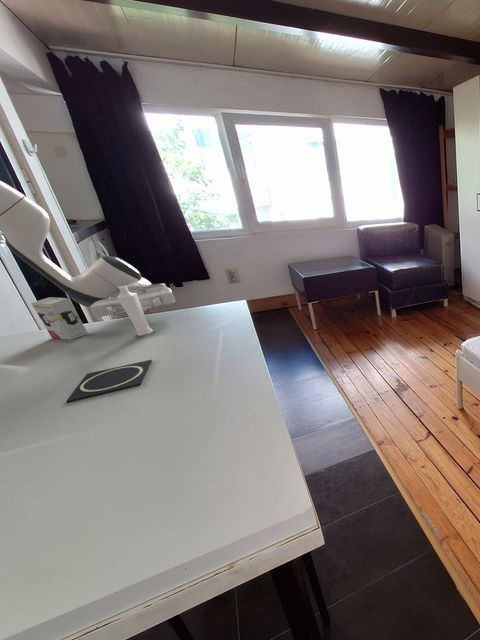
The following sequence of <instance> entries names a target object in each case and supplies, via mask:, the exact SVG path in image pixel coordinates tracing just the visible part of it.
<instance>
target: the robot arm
mask: <svg viewBox="0 0 480 640" xmlns="http://www.w3.org/2000/svg"><path fill="white" fill-rule="evenodd" d="M50 227H51V219H50V217H49V214H48V213H47V211H46V210H45V209H44V208H43V207H42V206H41V205H39V204H38V203H37V202H35V201H34V200H33V199H32V198H29V197H28V196H27V195H25V194H23V193H22V192H20V191H19V190H18V189H15V188H14V187H12V186H11V185H9V184H8V183H6V182H4V181H2V180H0V232H1V234H3V235H4V237H5V239H6V240H5V246H6V247H7V248H8V249H9V250H10V251H11V252H12V253H13V254H15V256H17V257H18V258H19V259H20V260H22V261H23V262H24V263H26V264H27V265H28V266H29V267H31V268H32V269H34V271H36V272H37V273H39V274H40V275H41V276H43V277H44V278H45V279H47V280H48V281H50V282H51V283H53V284H54V286H56V287H58V288H59V289H60V290H62V291H63V292H64V294H65V295H67V296H68V297H70V298H71V299H72V300H73V301H74V302H76V303H77V304H79V305H81V306H83V307H86V308H87V307H88V308H90V310H91V312H92V314H93V315H94V316H95V317H96V318H100V317H101V318H102V317H106V316H117V315H119V314H123V313H126V311H125V309H124V308H123V306H122V304H121V303H120V301H119V299H118V298H117V296H119V295H120V294H121V292H120V290H119V288H118V287H120V286H127V288H128V290H129V292H132V293H137V296H138V298H139V301H140V304H141V306H142V309H143V312H146V311H148V310H149V309H154V308H157V307H158V306H164V305H170V304H174V303H176V298H175V296H174V294H173V291H172V289H171V288H170V287H168V286H167V285H166V283H151V282H150V281H149V280H148V279H147V278H145V277H142V274H141V272H140V271H139V270H138V268H136V267H135V266H133V265H132V264H131V263H130V262H128V261H127V260H124V259H123V258H120V257H117V256H111V255H103V256H101V257H99V258H98V259H97V260H95V261H94V262H93V263H92V264H90V266H88V267H87V268H86V269H85V270H83V271H82V272H81V273H80V274H78V275H76V276H71V275H70V274H68V273H67V272H65V271H64V270H63V269H62V268H61V267H59V266H58V265H57V264H56V263H54V262H53V261H52V260H51V259H49V258H48V257H47V256H46V255H45V253H44V252H43V251H44V250H43V247H44V245H45V244H44V243H45V241H46V239H47V236H48V234H49V232H50V229H51V228H50ZM117 292H118V295H117V296H115V297H112V296H113V295H115V294H116V293H117Z"/></svg>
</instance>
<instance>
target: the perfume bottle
mask: <svg viewBox="0 0 480 640" xmlns="http://www.w3.org/2000/svg"><path fill="white" fill-rule="evenodd" d="M118 288H119V290H118V291H119V292H121V294H120V295H119V296H118V295H117V296H116V297H117V298H118V299H119V301H120V303H121V304H122V306H123V308H124V309H125V311H126V312H125V313H126V315H127V316H128V318H129V319H130V321H131V323H132V325H133V326H134V328H135V329H136V334H137V336H138V337H139V336H146V335H149V334H151V333H153V331H154V330H153V329H152V328H151V327H150V326H149V322H148V320H147V317H146V314H145V311H143V309H142V306H141V304H140V301H139V298H138V296H137V293H132V292H129V290H128V288H127V286H120V287H118Z"/></svg>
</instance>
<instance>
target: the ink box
mask: <svg viewBox="0 0 480 640" xmlns="http://www.w3.org/2000/svg"><path fill="white" fill-rule="evenodd" d="M30 305H31V306H32V308H33V309H34V311H35V313H36V314H37V316H38V319H40V321H41V323H42V324H43V326H44V327H45V329H46V331H47V332H48V334H49V336H50V337H51V339H57V340H67V341H68V340H70V341H72V340H74V339H77V338H80V337H83V336H85V335H88V334H89V332H88V330H87V329H86V327H85V326H84V324H83V322H82V320H81V318H80V317H79V314H78V313H77V311H76V309H75V307H74V306H73V304H72V302H71V300H70V299H69V298H68V297H52V296H49V297H46V298H43V299H39V300H36V301H33V302H30Z"/></svg>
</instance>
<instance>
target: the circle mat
mask: <svg viewBox="0 0 480 640" xmlns="http://www.w3.org/2000/svg"><path fill="white" fill-rule="evenodd" d="M152 362H153V360H152V359H147V360H143V361H139V362H134V363H129V364H125V365H120V366H115V367H111V368H106V369H101V370H97V371H93V372H88V373H86V375H85V376H84V377H83V379H82V380H81V381H80V382H79V384H78V385H77V386H76V387H75V389H74V390H73V392H72V393H71V394H70V395H69V397H68V398H67V399H66V403H71V402H75V401H76V402H77V401H79V400H83V399H88V398H92V397H96V396H101V395H104V394H108V393H112V392H117V391H121V390H126V389H130V388H133V387H139V386H141V385H142V383H143V381H144V379H145V377H146V375H147V373H148V370H149V369H150V366H151V364H152Z"/></svg>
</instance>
